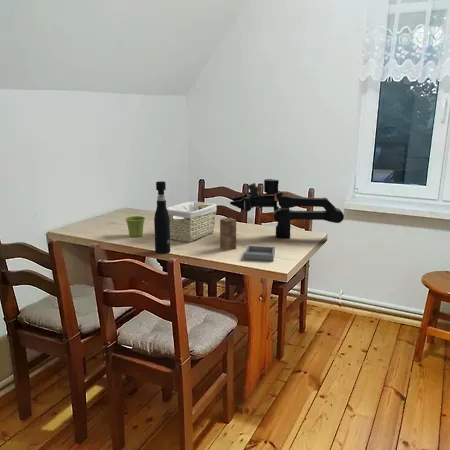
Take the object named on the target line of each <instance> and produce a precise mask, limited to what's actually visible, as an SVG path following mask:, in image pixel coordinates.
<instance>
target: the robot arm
mask: <svg viewBox="0 0 450 450" xmlns="http://www.w3.org/2000/svg"><path fill="white" fill-rule="evenodd" d="M248 190H249V191H247V192H245V193H244V194H243V195H240V196H236V197H232V199H231V200H232V201H229V204H230V205H232V206H234V207H235V208H238V209H241V211H244V212H250V211H251V210H252V209H254V208H259V209H263V208H273V212H274V213H273V219H274V220H275V222H277V224H276V225H277V226H275V236H276V238H277V239H291V226H292V225H291V221H293V220H294V221H297V220H299V221H300V220H301V221H302V220H303V221H305V220H306V221H307V220H308V221H309V220H311V221H317V220H318V221H326V222H328V223H333V224H341V222H343V221H344V219H345V215H344V213H343V211H342V210H341V208H338V207H336V206H335V205H334V204H333V203H332V202H330V200H329V199H328V198H327V197H303V196H302V197H299V196H294V195H291V194H286V193H282V192H281V191H280V190H279V179H272V178H267V179H263V192H264V193H265V194H262V193H260V192H259V189H258V187H257V184H256V182H254V183H253V182H252V183H251V184H248ZM278 205H279V206H278ZM295 207H309V208H310V207H312V208H313V207H315V208H323V209H324V210H293V209H290V208H295Z"/></svg>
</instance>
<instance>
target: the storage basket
mask: <svg viewBox="0 0 450 450" xmlns="http://www.w3.org/2000/svg"><path fill="white" fill-rule="evenodd" d="M166 208H167V211H168V214H169V218H170V240H175V241H179V242H187V243H191V242H193V241H196V240H198V239H200V238H203V237H206V236H208V235H210V234H213V233H214V232H215V223H216V215H217V204H216V203H211V202H201V201H194V200H193V201H186V202H183V203H180V204H175V205H172V206H168V207H166Z"/></svg>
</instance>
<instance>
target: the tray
mask: <svg viewBox="0 0 450 450" xmlns="http://www.w3.org/2000/svg"><path fill="white" fill-rule="evenodd" d="M275 251H276V246H264V245H262V246H261V245H260V246H259V245H258V246H257V245H247V247H246V249H245V252H244V260H245V261H258V262H260V261H261V262H274V258H275V255H276V254H275V253H276V252H275Z"/></svg>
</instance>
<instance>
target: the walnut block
mask: <svg viewBox="0 0 450 450" xmlns="http://www.w3.org/2000/svg"><path fill="white" fill-rule="evenodd" d="M219 225H220V226H219V227H220V228H219V247H220V249H221V250H224V251H226V252H227V251H231V250H236V249H237V219H235V218H232V217H225V218H220V220H219Z"/></svg>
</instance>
